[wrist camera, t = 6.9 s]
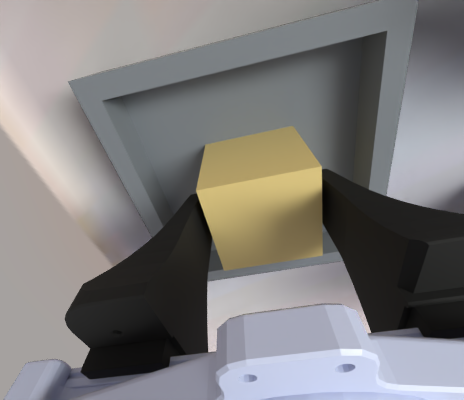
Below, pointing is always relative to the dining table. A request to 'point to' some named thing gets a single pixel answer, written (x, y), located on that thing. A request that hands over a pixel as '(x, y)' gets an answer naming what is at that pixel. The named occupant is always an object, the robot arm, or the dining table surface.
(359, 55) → the tray
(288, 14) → the dining table surface
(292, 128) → the mustard block
